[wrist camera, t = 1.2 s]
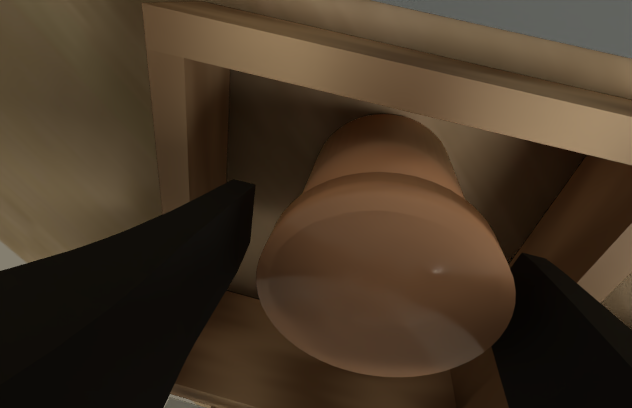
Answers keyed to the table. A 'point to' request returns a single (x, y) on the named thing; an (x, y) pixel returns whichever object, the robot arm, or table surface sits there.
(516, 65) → the table surface
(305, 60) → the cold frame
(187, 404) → the lid
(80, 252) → the robot arm
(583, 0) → the mat
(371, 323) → the pot
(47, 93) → the table surface
